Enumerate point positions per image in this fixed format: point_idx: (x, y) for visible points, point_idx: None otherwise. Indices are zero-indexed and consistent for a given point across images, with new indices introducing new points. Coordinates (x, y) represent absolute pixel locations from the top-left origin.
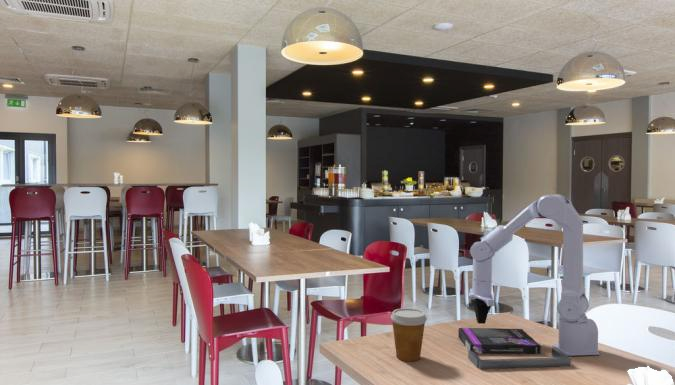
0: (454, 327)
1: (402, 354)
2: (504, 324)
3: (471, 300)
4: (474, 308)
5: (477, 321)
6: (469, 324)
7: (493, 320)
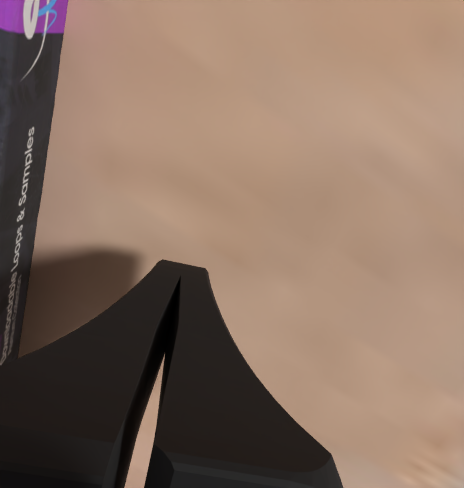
0: (405, 74)
1: None
2: None
3: (248, 475)
4: (221, 363)
5: (187, 269)
6: (405, 272)
7: (391, 460)
